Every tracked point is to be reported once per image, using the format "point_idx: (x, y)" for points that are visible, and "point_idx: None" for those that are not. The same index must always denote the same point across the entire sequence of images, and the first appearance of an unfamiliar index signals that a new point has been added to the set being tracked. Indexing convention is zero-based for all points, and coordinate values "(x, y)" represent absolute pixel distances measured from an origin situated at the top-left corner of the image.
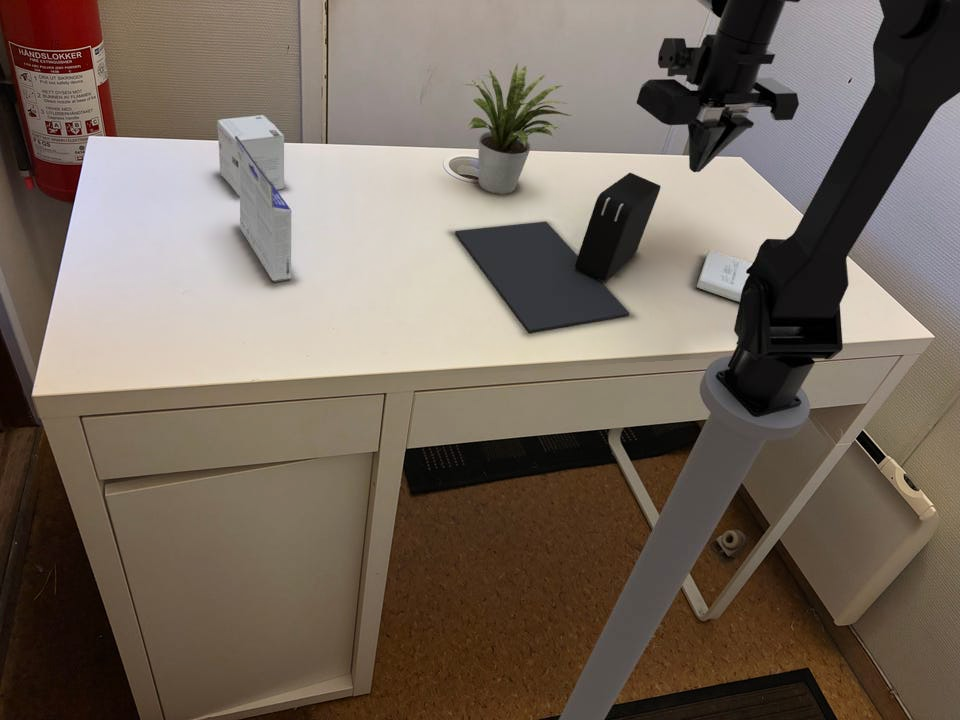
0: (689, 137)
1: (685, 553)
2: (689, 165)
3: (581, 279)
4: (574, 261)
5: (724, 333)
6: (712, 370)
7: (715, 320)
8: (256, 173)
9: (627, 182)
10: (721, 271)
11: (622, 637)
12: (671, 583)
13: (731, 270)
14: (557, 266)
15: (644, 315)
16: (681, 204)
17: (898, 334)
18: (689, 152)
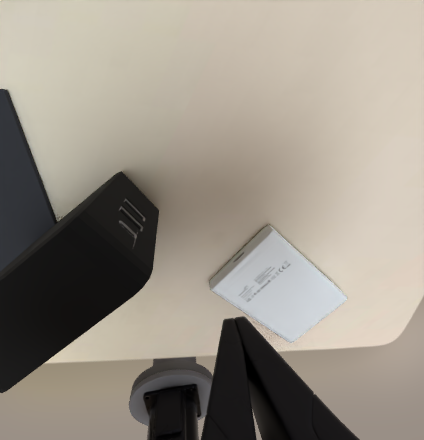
0: (202, 437)
1: None
2: (222, 326)
3: None
4: (39, 223)
5: (195, 341)
6: (144, 388)
7: (197, 326)
8: None
9: (27, 291)
10: (252, 278)
11: None
12: None
13: (267, 277)
14: (5, 234)
15: (114, 317)
16: (353, 46)
17: (371, 345)
18: (215, 365)
